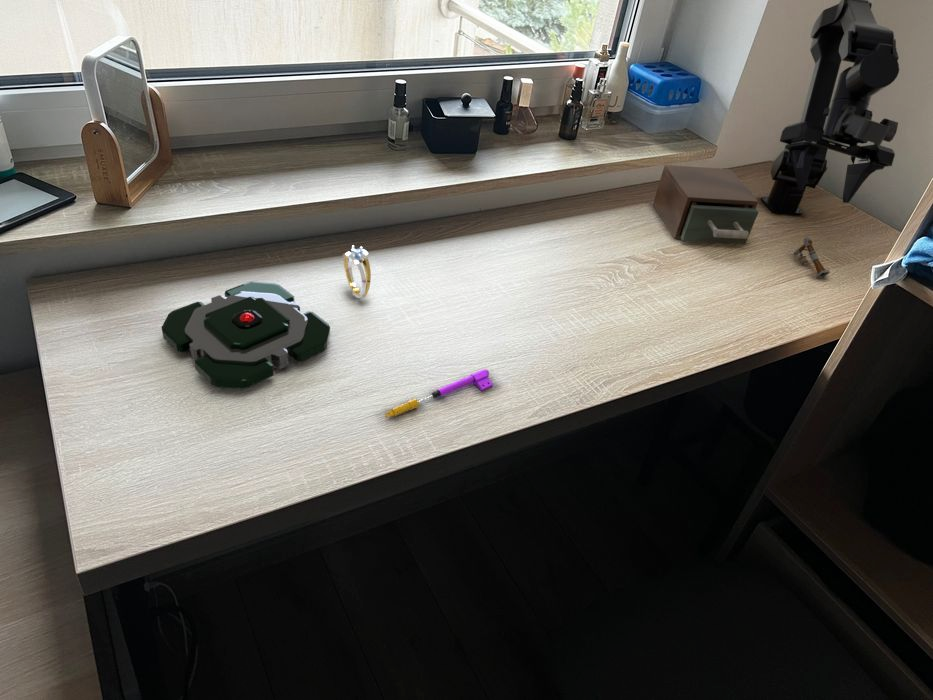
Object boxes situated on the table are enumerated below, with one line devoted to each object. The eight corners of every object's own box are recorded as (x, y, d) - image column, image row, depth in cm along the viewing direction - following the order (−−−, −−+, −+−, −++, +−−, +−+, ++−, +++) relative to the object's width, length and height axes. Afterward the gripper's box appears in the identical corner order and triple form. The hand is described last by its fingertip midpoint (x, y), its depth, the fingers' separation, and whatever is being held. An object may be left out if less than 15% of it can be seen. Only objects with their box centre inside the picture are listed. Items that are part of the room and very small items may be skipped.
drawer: (756, 258, 130) (770, 224, 126) (691, 255, 128) (703, 221, 124) (720, 212, 144) (732, 180, 140) (661, 208, 142) (671, 176, 138)
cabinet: (742, 242, 136) (758, 201, 131) (674, 239, 134) (688, 197, 129) (716, 208, 147) (730, 169, 142) (652, 204, 145) (664, 164, 140)
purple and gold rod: (484, 371, 98) (383, 414, 89) (486, 366, 97) (384, 409, 88) (495, 386, 96) (394, 431, 88) (498, 381, 96) (396, 425, 87)
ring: (374, 306, 107) (375, 260, 102) (353, 309, 106) (354, 263, 101) (358, 281, 112) (359, 235, 107) (338, 284, 110) (338, 238, 106)
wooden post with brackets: (796, 248, 135) (812, 234, 131) (814, 284, 132) (831, 271, 128) (789, 249, 134) (804, 234, 130) (806, 285, 131) (823, 271, 127)
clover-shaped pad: (267, 289, 107) (265, 262, 105) (343, 349, 98) (344, 322, 96) (152, 333, 96) (146, 306, 94) (226, 405, 88) (222, 377, 85)
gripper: (837, 79, 112) (808, 179, 113) (933, 112, 116) (904, 208, 118) (791, 92, 122) (765, 183, 124) (881, 121, 127) (855, 209, 129)
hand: (823, 196), depth 123 cm, fingers open, 9 cm apart
